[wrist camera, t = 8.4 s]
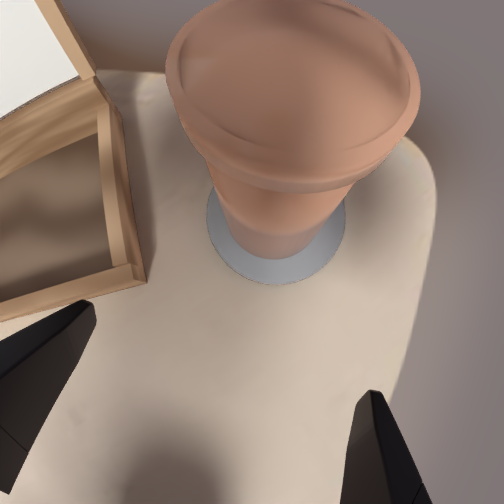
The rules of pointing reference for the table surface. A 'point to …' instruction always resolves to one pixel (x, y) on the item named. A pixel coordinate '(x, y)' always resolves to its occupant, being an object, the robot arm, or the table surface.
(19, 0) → the lid
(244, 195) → the tan cylindrical canister
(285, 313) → the table surface
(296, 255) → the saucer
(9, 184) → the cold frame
